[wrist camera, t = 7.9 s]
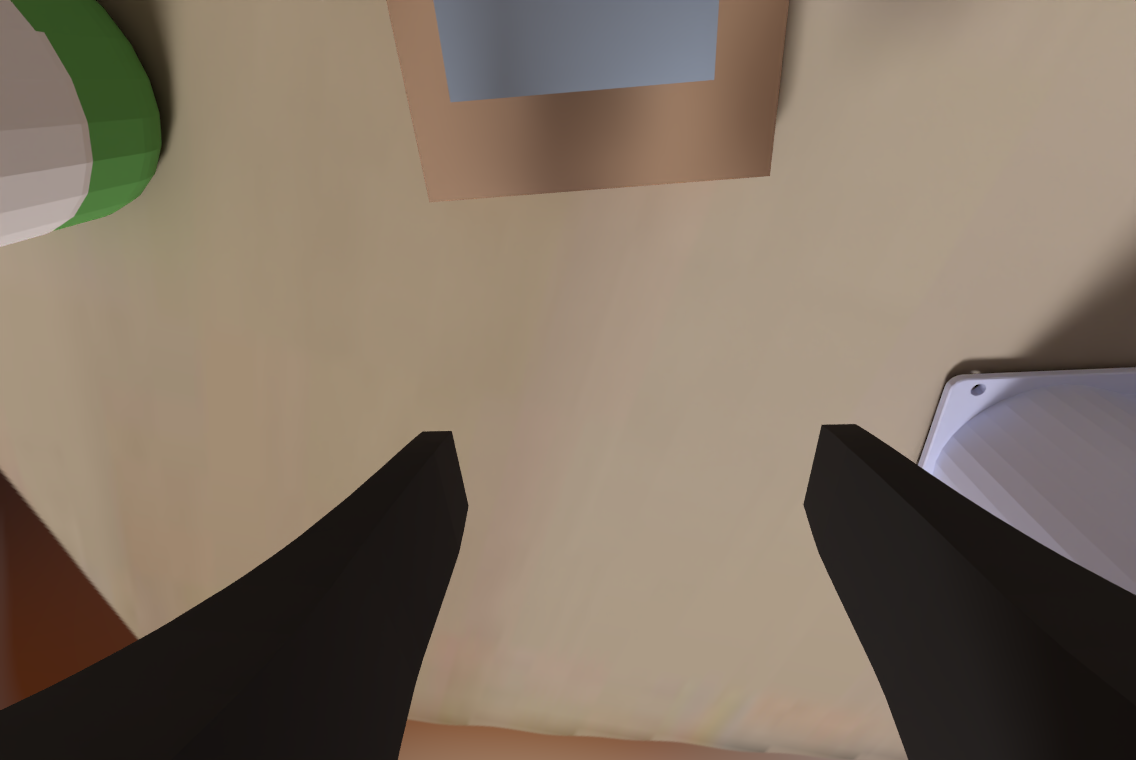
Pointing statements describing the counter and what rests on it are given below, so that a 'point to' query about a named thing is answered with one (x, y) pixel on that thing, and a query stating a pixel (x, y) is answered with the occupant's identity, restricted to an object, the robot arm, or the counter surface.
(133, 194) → the wine bottle
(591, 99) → the base board
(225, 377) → the counter surface
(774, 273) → the counter surface
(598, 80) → the block
